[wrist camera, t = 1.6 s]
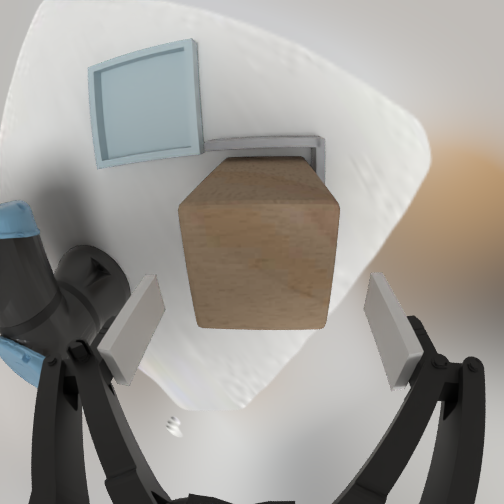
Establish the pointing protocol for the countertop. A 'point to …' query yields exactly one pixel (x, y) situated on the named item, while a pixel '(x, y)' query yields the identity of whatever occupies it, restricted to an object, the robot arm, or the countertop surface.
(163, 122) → the tray
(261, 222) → the wooden block
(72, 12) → the countertop surface
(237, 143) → the bay
